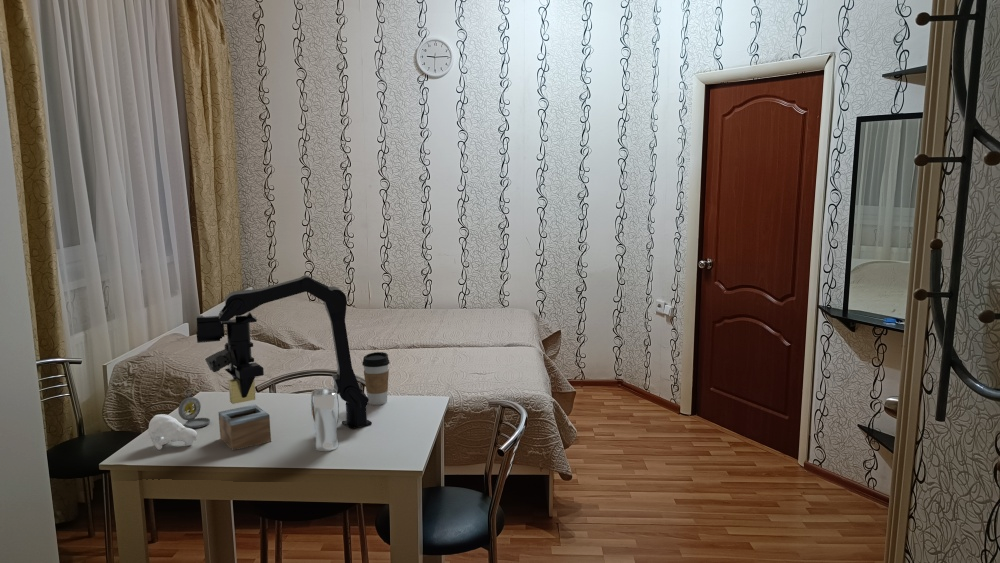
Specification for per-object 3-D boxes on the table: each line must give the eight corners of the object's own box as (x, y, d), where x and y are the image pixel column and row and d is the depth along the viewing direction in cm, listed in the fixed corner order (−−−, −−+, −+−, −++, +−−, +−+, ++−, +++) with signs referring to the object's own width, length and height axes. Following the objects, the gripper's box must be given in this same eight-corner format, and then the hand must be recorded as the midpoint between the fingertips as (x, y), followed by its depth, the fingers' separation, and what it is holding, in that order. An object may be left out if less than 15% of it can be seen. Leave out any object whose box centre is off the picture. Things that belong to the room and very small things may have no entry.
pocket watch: (204, 428, 205) (201, 394, 204) (175, 429, 206) (172, 395, 204) (216, 419, 213) (213, 386, 212) (187, 419, 214) (185, 386, 212)
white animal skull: (156, 410, 195) (201, 413, 195) (155, 440, 196) (200, 443, 197) (145, 418, 189) (192, 421, 189) (145, 449, 190) (191, 452, 190)
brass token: (255, 399, 196) (254, 378, 195) (232, 403, 192) (231, 382, 191) (252, 397, 198) (251, 376, 197) (230, 401, 194) (228, 380, 193)
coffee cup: (396, 399, 229) (394, 352, 227) (383, 407, 222) (381, 359, 219) (372, 396, 232) (370, 351, 230) (358, 404, 224) (356, 357, 222)
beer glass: (327, 454, 186) (324, 397, 183) (307, 449, 189) (304, 393, 187) (346, 445, 192) (343, 390, 189) (327, 440, 195) (324, 386, 193)
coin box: (271, 441, 195) (269, 414, 194) (233, 450, 189) (231, 422, 188) (257, 430, 204) (255, 404, 203) (220, 438, 198) (218, 411, 197)
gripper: (197, 337, 195) (201, 393, 197) (218, 350, 180) (222, 411, 183) (239, 331, 202) (243, 386, 204) (262, 344, 187) (266, 402, 189)
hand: (242, 396), depth 195 cm, fingers closed on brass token, 2 cm apart
